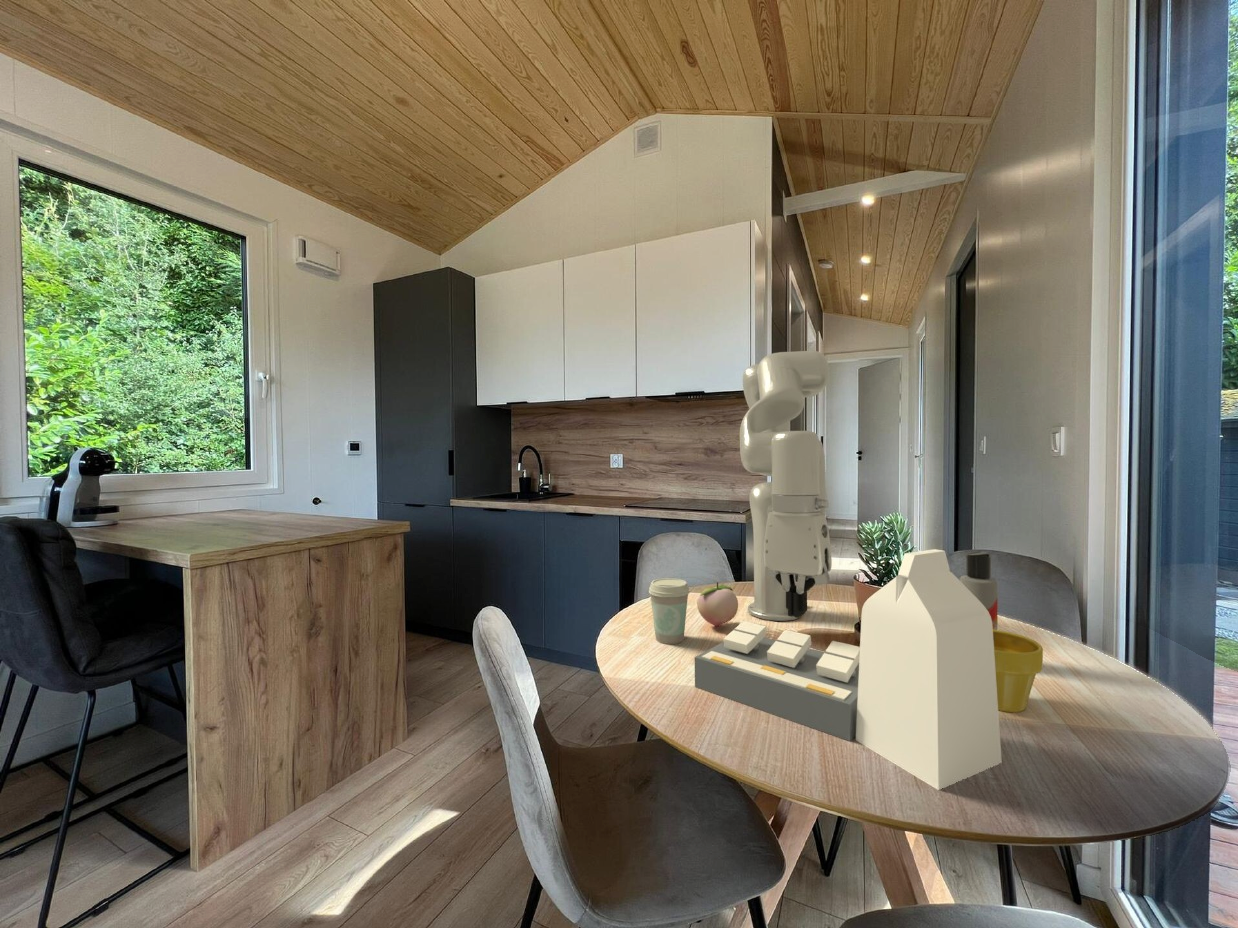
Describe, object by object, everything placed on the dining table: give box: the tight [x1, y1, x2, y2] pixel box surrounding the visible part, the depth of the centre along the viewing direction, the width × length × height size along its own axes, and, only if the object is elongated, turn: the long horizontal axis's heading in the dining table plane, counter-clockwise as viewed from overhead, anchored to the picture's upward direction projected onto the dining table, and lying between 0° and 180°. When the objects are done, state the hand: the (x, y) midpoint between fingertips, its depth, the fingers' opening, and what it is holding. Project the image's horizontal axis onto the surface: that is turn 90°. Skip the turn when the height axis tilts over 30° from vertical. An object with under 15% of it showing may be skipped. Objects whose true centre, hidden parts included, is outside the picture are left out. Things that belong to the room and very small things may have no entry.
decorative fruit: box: [696, 581, 739, 628], centre depth 116 cm, size 9×8×10 cm
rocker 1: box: [723, 620, 768, 654], centre depth 90 cm, size 7×4×2 cm, turn 138°
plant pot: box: [993, 629, 1044, 713], centre depth 80 cm, size 10×10×10 cm
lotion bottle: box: [959, 551, 999, 630], centre depth 96 cm, size 6×6×20 cm
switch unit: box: [694, 636, 859, 742], centre depth 84 cm, size 16×25×6 cm, turn 47°
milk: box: [855, 548, 1003, 791], centre depth 67 cm, size 12×12×26 cm
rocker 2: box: [767, 629, 812, 668], centre depth 85 cm, size 7×4×2 cm, turn 138°
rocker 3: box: [816, 640, 860, 682], centre depth 79 cm, size 7×4×2 cm, turn 138°
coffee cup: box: [648, 577, 691, 645], centre depth 109 cm, size 8×9×12 cm
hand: (796, 614), depth 86 cm, fingers closed
